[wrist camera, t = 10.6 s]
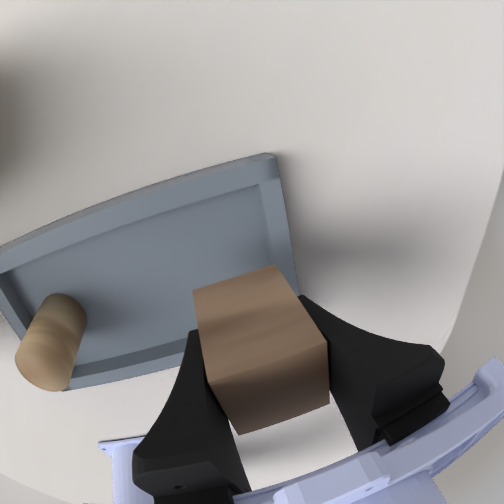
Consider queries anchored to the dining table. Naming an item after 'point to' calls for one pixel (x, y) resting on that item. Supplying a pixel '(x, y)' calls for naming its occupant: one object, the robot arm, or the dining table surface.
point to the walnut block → (261, 350)
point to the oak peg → (52, 343)
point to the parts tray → (149, 263)
